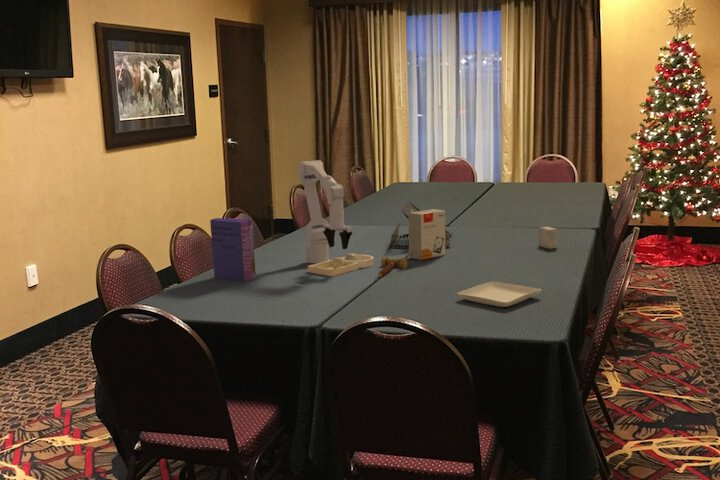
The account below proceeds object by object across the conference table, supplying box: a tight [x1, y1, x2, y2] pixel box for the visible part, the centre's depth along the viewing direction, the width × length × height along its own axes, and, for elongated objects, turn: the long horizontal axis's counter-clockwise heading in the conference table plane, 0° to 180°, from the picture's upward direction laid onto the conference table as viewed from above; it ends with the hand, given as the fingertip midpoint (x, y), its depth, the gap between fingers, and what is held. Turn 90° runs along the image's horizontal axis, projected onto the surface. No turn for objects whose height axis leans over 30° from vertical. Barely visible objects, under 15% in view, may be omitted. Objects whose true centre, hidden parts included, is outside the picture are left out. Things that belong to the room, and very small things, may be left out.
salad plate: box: [456, 281, 542, 308], centre depth 270 cm, size 21×21×3 cm
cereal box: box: [209, 217, 257, 283], centre depth 313 cm, size 17×5×24 cm, turn 59°
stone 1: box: [332, 256, 344, 269], centre depth 322 cm, size 4×4×4 cm
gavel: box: [377, 256, 408, 278], centre depth 316 cm, size 21×5×10 cm
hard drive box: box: [408, 208, 446, 261], centre depth 341 cm, size 16×8×20 cm, turn 129°
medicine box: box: [538, 226, 558, 250], centre depth 351 cm, size 8×4×9 cm, turn 22°
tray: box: [307, 259, 359, 277], centre depth 320 cm, size 14×15×3 cm
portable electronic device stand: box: [390, 200, 454, 250], centre depth 374 cm, size 33×28×18 cm
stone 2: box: [345, 252, 357, 261], centre depth 328 cm, size 4×4×4 cm
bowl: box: [342, 254, 375, 269], centre depth 329 cm, size 13×13×4 cm
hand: (338, 247), depth 321 cm, fingers open, 7 cm apart
